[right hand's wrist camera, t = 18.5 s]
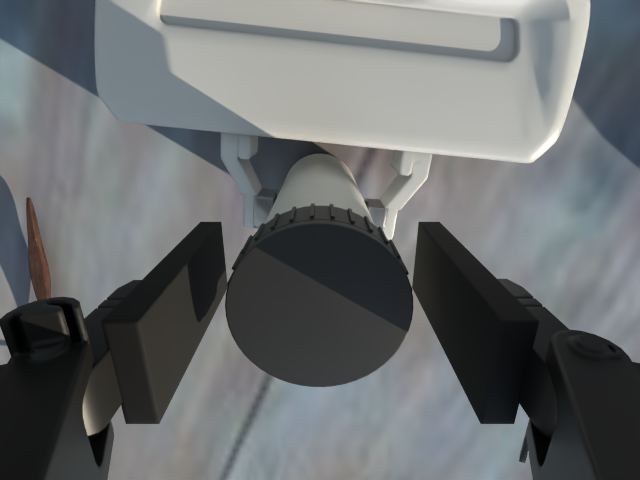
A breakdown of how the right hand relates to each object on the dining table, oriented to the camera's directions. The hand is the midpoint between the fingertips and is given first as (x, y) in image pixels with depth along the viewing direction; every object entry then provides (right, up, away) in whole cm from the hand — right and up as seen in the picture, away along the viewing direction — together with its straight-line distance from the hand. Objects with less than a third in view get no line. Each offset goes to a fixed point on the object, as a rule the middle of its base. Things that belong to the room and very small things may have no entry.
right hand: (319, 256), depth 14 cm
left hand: (0, +1, +5) cm, 5 cm away
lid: (0, -1, -3) cm, 4 cm away
